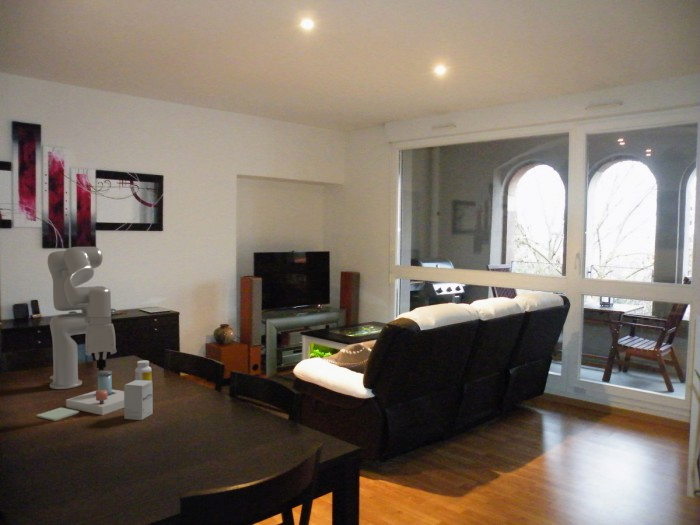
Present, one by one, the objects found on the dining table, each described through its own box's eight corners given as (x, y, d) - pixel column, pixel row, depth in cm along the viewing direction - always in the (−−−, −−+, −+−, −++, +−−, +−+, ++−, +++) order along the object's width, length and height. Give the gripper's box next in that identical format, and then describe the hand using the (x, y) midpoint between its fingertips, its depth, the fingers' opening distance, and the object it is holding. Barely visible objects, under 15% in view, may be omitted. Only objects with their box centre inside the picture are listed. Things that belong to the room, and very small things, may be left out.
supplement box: (142, 420, 196) (141, 385, 195) (123, 419, 197) (123, 384, 197) (153, 413, 203) (153, 380, 202) (135, 412, 205) (135, 379, 204)
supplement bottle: (154, 389, 235) (154, 359, 234) (147, 393, 228) (147, 363, 228) (139, 388, 235) (139, 359, 235) (132, 393, 229) (131, 363, 228)
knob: (93, 406, 205) (93, 392, 205) (102, 403, 208) (102, 389, 208) (101, 408, 203) (100, 393, 203) (109, 405, 207) (109, 390, 206)
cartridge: (94, 402, 217) (93, 372, 216) (106, 398, 222) (105, 369, 221) (104, 404, 214) (103, 374, 213) (115, 400, 219) (115, 371, 219)
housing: (66, 407, 210) (66, 399, 210) (105, 395, 226) (105, 387, 226) (102, 415, 201) (102, 407, 201) (140, 401, 218) (140, 394, 217)
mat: (36, 416, 199) (36, 415, 199) (61, 408, 208) (61, 407, 208) (54, 420, 195) (54, 419, 195) (79, 412, 204) (79, 411, 204)
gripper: (76, 323, 198) (78, 373, 199) (121, 321, 203) (122, 370, 204) (79, 320, 205) (80, 369, 206) (122, 318, 210) (123, 366, 211)
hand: (101, 369), depth 205 cm, fingers closed
